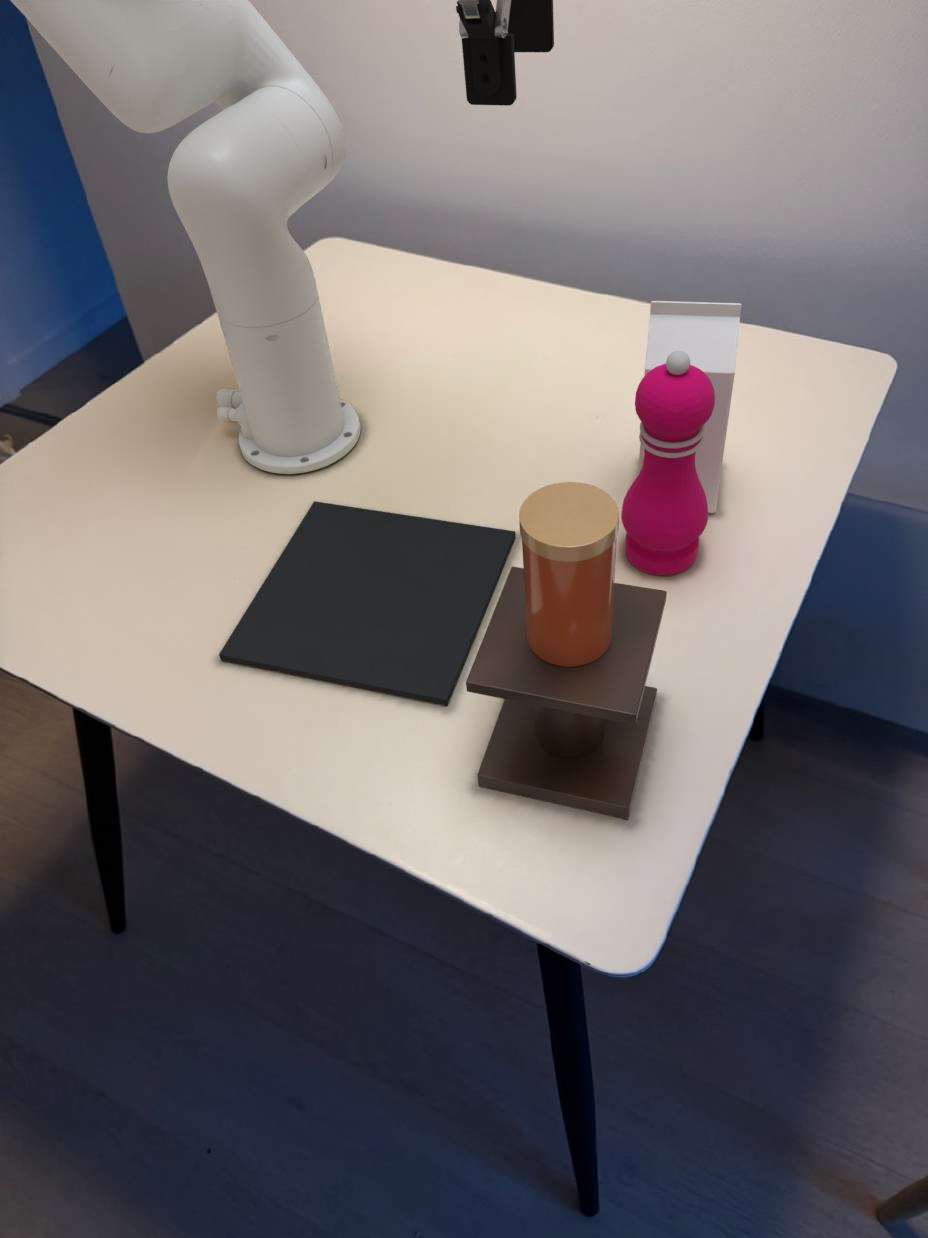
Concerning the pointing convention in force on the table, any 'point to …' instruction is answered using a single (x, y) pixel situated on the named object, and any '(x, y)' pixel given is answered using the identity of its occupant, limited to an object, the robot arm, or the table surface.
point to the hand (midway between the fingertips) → (512, 75)
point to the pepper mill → (668, 468)
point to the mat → (373, 601)
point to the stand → (569, 706)
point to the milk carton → (712, 350)
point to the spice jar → (569, 571)
